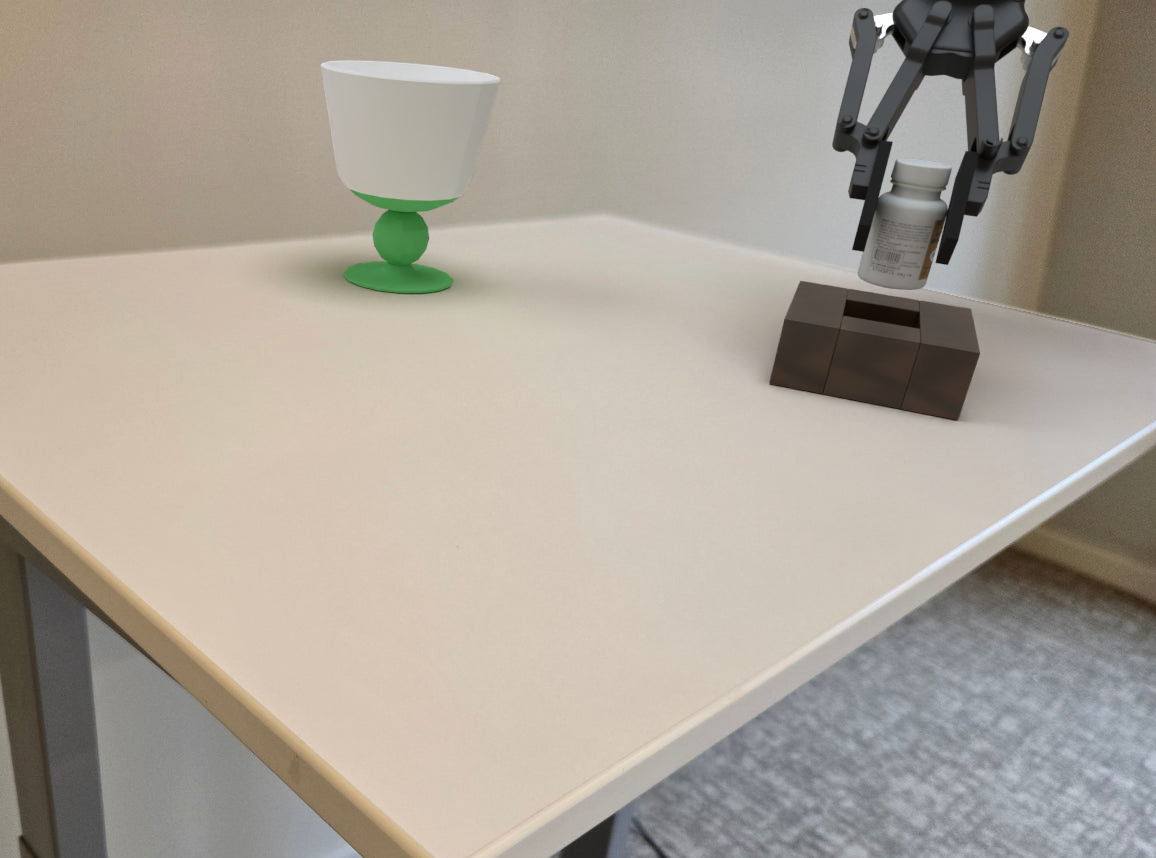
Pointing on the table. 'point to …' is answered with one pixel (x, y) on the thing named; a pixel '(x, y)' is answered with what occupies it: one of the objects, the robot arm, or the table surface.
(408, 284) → the cup
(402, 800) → the table surface
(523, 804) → the table surface
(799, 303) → the holder
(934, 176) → the pill bottle
